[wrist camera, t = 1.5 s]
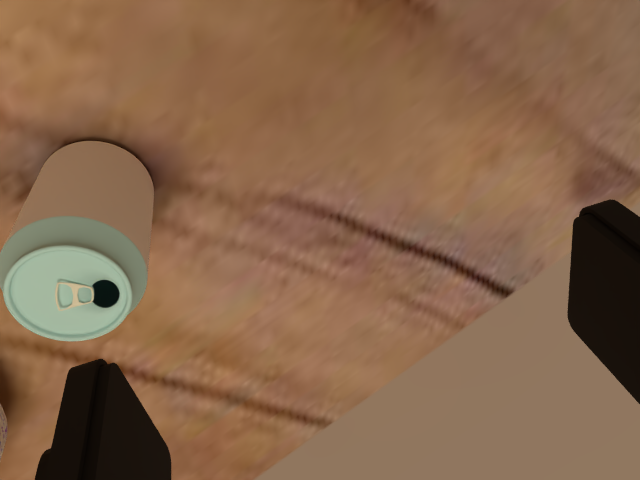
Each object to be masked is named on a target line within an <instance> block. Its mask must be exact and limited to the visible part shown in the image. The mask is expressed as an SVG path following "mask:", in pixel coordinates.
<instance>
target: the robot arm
mask: <svg viewBox="0 0 640 480" xmlns="http://www.w3.org/2000/svg"><path fill="white" fill-rule="evenodd" d="M568 320H569V323H570V325H571V327H572V329H573V330H574V332H575V333H576V334H577V335H578V336H579V337H580V338H581V340H582V341H583V342H584V343H585V344H586V345H587V346H588V347H589V349H590V350H591V351H592V352H593V353H594V354H595V355H596V356H597V357H598V358H599V360H600V361H601V362H602V363H603V364H604V365H605V366H606V367H607V368H608V369H609V371H610V372H611V373H612V374H613V375H614V376H615V377H616V378H617V380H618V381H619V382H620V383H621V384H622V385H623V386H624V387H625V388H626V390H627V391H628V392H629V393H630V394H631V395H632V396H633V397H634V398H635V400H636V401H637V402H638V403H639V404H640V217H639V216H637V215H636V214H635V213H633V212H632V211H630V210H629V209H628V208H626V207H625V206H623V205H622V204H620V203H619V202H617V201H615V200H607V201H604V202H601V203H597V204H594V205H591V206H588V207H585V208H583V209H582V210H581V211H580V214H579V217H577V218H575V220H574V223H573V235H572V251H571V267H570V283H569V300H568ZM35 480H171V457H170V453H169V450H168V447H167V445H166V443H165V442H164V440H163V438H162V437H161V435H160V433H159V432H158V430H157V429H156V427H155V425H154V424H153V422H152V420H151V419H150V417H149V415H148V414H147V412H146V411H145V409H144V407H143V406H142V404H141V402H140V401H139V399H138V398H137V396H136V394H135V393H134V391H133V389H132V388H131V386H130V385H129V383H128V381H127V380H126V378H125V376H124V375H123V373H122V371H121V370H120V368H119V367H118V365H117V364H115V363H111V364H107V363H106V361H105V360H103V359H98V360H95V361H92V362H88V363H85V364H82V365H79V366H76V367H72V368H71V369H70V370H69V372H68V375H67V379H66V384H65V388H64V393H63V397H62V402H61V406H60V411H59V415H58V420H57V424H56V429H55V434H54V438H53V443H52V447H51V449H48V450H46V451H45V452H44V453H43V454H42V456H41V458H40V461H39V464H38V468H37V472H36V476H35Z"/></svg>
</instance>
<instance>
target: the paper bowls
mask: <svg viewBox="0 0 640 480" xmlns="http://www.w3.org/2000/svg"><path fill="white" fill-rule="evenodd" d="M6 438H7V418H6V416H5V413H4V410H3V408H2V406H1V404H0V459H1V456H2V453H3V450H4V447H5V442H6Z"/></svg>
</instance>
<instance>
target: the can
mask: <svg viewBox="0 0 640 480" xmlns="http://www.w3.org/2000/svg"><path fill="white" fill-rule="evenodd" d="M153 203H154V187H153V183H152V180H151V177H150V175H149V173H148V171H147V170H146V168H145V167H144V165H143V164H142V163H141V162H140V161H139V160H138V159H137V158H136V157H135V156H134V155H132V154H131V153H129V152H128V151H126V150H124V149H122V148H120V147H118V146H116V145H113V144H110V143H105V142H100V141H82V142H76V143H72V144H69V145H67V146H64V147H62V148H61V149H59V150H57V151H56V152H54V153H53V154H52V155H51V156H50V157H49V158H48V159H47V160H46V162H45V163H44V165H43V167H42V169H41V171H40V173H39V175H38V177H37V179H36V181H35V183H34V185H33V187H32V189H31V191H30V193H29V195H28V197H27V199H26V201H25V203H24V205H23V207H22V209H21V212H20V214H19V216H18V218H17V220H16V222H15V224H14V226H13V228H12V230H11V232H10V234H9V236H8V238H7V240H6V242H5V244H4V246H3V248H2V250H1V253H0V287H1V289H2V291H3V296H4V301H5V304H6V306H7V308H8V310H9V312H10V313H11V314H12V316H13V317H14V318H15V319H16V320H17V321H18V322H19V323H20V324H21V325H23V326H24V327H25V328H27V329H28V330H30V331H32V332H34V333H36V334H38V335H41V336H43V337H46V338H50V339H54V340H60V341H83V340H89V339H93V338H97V337H99V336H102V335H104V334H106V333H108V332H110V331H112V330H113V329H115V328H116V327H117V326H118V325H119V324H120V323H122V321H123V320H124V319H125V318H126V316H127V315H128V314H129V313H130V312H131V311H132V310H133V309H134V308H135V307H136V306H137V305H138V303H139V302H140V300H141V299H142V297H143V295H144V292H145V289H146V285H147V277H148V265H149V253H150V240H151V228H152V216H153Z"/></svg>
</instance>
